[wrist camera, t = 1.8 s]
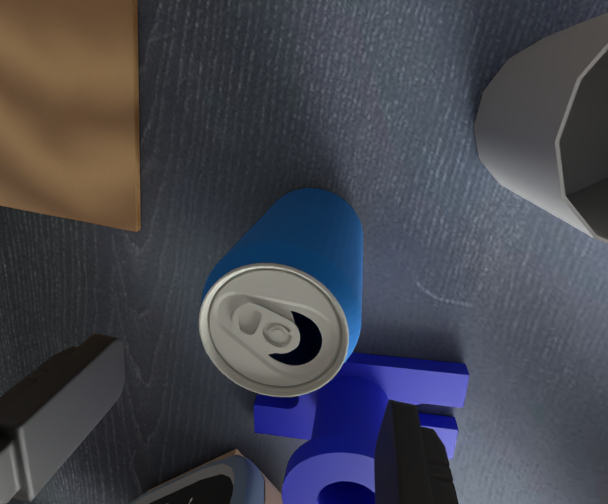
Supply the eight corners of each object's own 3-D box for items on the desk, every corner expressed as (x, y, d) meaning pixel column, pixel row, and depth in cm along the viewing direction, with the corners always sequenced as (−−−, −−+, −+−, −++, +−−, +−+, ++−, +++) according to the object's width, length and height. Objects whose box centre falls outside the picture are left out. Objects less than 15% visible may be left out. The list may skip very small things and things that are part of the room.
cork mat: (-90, -74, 22) (-102, -79, 22) (137, -45, 21) (131, -49, 21) (-39, 194, 28) (-47, 196, 28) (141, 229, 27) (136, 232, 26)
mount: (465, 363, 27) (507, 474, 19) (449, 445, 29) (480, 573, 21) (256, 342, 29) (213, 434, 21) (258, 420, 31) (221, 529, 23)
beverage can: (335, 295, 26) (314, 431, 15) (251, 253, 26) (167, 361, 15) (381, 213, 24) (395, 305, 13) (288, 167, 24) (220, 220, 13)
